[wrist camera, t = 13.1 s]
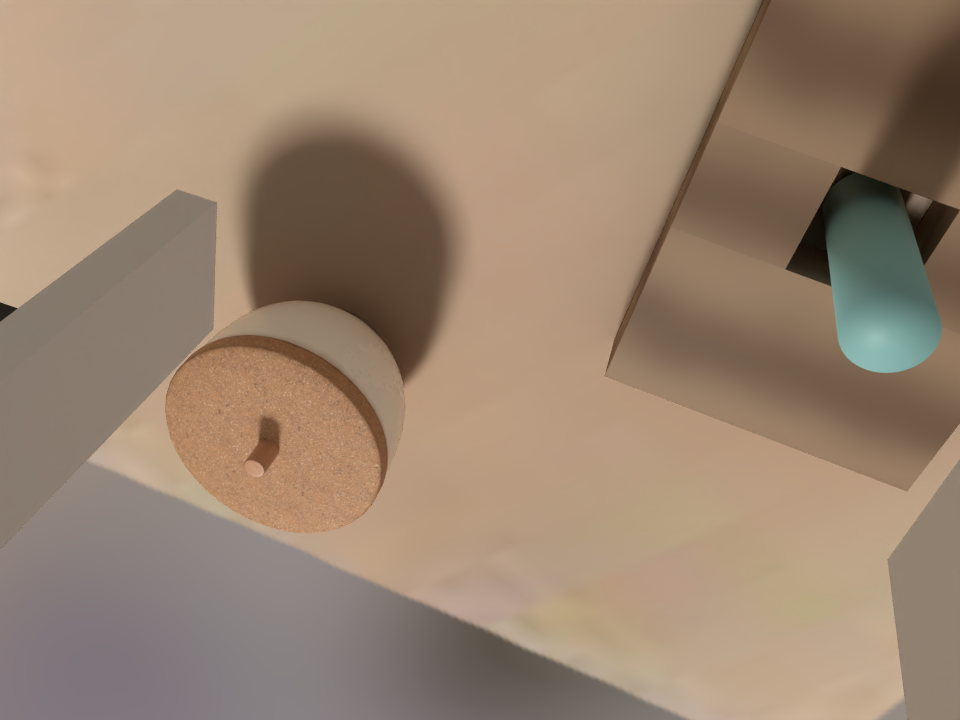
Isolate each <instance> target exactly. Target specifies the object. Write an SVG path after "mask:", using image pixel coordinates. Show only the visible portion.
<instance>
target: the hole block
mask: <svg viewBox="0 0 960 720" xmlns="http://www.w3.org/2000/svg"><path fill="white" fill-rule="evenodd" d="M841 167H843V168H845V169H848V170H851V171H854V172H857V173H859V174H862V175H865V176H868V177H870V178H873V179H876V180H879V181H882V182H884V183H887V184H890V185H893V186H895V187H898V188H901V189H904V190H907V191H909V192H912V193H915V194H918V195H920V196H923V197H926V198H929V199H932V200H934V201H933V203H932V204H931V206H930V208H929V209H928V211H927V212H926V214H925V216H924V217H923V219H922V220H921V222H920V224H919V225H918V227H917V228H916V230H915V232H914V235H915V239H916V242H917V245H918V248H919V252H920V255H921V258H922V261H923V265H924V268H925V271H926V274H927V277H928V281H929V284H930V287H931V290H932V294H933V297H934V300H935V303H936V307H937V310H938V313H939V316H940V320H941V324H942V333H941V338H940V341H939V343H938V345H937V347H936V349H935V350H934V351H933V353H932V354H931V355H930V356H929V357H928V358H927V359H925V360H924V361H923V362H921V363H920V364H918V365H916V366H914V367H912V368H910V369H907V370H903V371H899V372H893V373H879V372H873V371H869V370H866V369H863V368H861V367H859V366H857V365H855V364H854V363H853V362H851V361H850V360H849V359H848V358H847V357H846V356H845V354H844V353H843V351H842V350H841V348H840V345H839V341H838V335H837V327H836V318H835V310H834V302H833V294H832V285H831V277H830V269H829V261H828V253H826V252H823V251H820V250H817V249H815V248H812V247H809V246H806V245H804V244H801V243H800V241H801V239H802V238H803V236H804V234H805V232H806V230H807V228H808V227H809V225H810V223H811V221H812V219H813V217H814V216H815V214H816V212H817V210H818V208H819V206H820V205H821V203H822V201H823V199H824V197H825V195H826V194H827V192H828V190H829V188H830V186H831V184H832V183H833V181H834V179H835V177H836V175H837V173H838V172H839V170H840V168H841ZM605 377H608V378H611V379H613V380H616V381H619V382H621V383H624V384H626V385H629V386H632V387H634V388H637V389H640V390H642V391H645V392H647V393H650V394H653V395H655V396H658V397H661V398H663V399H666V400H668V401H671V402H674V403H676V404H679V405H682V406H684V407H687V408H689V409H692V410H695V411H697V412H700V413H703V414H705V415H708V416H710V417H713V418H716V419H718V420H721V421H724V422H726V423H729V424H731V425H734V426H737V427H739V428H742V429H745V430H747V431H750V432H752V433H755V434H758V435H760V436H763V437H766V438H768V439H771V440H773V441H776V442H779V443H781V444H784V445H787V446H789V447H792V448H794V449H797V450H800V451H802V452H805V453H808V454H810V455H813V456H815V457H818V458H821V459H823V460H826V461H829V462H831V463H834V464H836V465H839V466H842V467H844V468H847V469H850V470H852V471H855V472H857V473H860V474H863V475H865V476H868V477H871V478H873V479H876V480H878V481H881V482H884V483H886V484H889V485H892V486H894V487H897V488H899V489H902V490H905V491H908V490H909V488H910V487H911V486H912V484H913V483H914V482H915V481H916V479H917V478H918V477H919V475H920V474H921V473H922V471H923V470H924V469H925V468H926V466H927V465H928V464H929V462H930V461H931V460H932V458H933V457H934V456H935V455H936V453H937V452H938V451H939V449H940V448H941V447H942V446H943V444H944V443H945V442H946V440H947V439H948V438H949V436H950V435H951V434H952V433H953V431H954V430H955V429H956V427H957V426H958V425H959V424H960V0H763V2H762V5H761V7H760V9H759V12H758V14H757V16H756V18H755V21H754V23H753V25H752V28H751V30H750V32H749V34H748V37H747V39H746V41H745V44H744V46H743V48H742V50H741V53H740V55H739V57H738V60H737V62H736V64H735V66H734V69H733V71H732V73H731V75H730V78H729V80H728V82H727V85H726V87H725V89H724V91H723V94H722V96H721V98H720V101H719V103H718V105H717V107H716V110H715V112H714V114H713V117H712V119H711V121H710V123H709V126H708V128H707V130H706V133H705V135H704V137H703V139H702V142H701V144H700V146H699V149H698V151H697V153H696V155H695V158H694V160H693V162H692V165H691V167H690V169H689V171H688V174H687V176H686V178H685V181H684V183H683V185H682V187H681V190H680V192H679V194H678V197H677V199H676V201H675V203H674V206H673V208H672V210H671V212H670V215H669V217H668V219H667V222H666V224H665V226H664V228H663V231H662V233H661V235H660V238H659V240H658V242H657V244H656V247H655V249H654V251H653V254H652V256H651V258H650V260H649V263H648V265H647V267H646V270H645V272H644V274H643V276H642V279H641V281H640V283H639V286H638V288H637V290H636V292H635V295H634V297H633V299H632V302H631V304H630V306H629V308H628V311H627V313H626V315H625V318H624V320H623V322H622V324H621V327H620V329H619V331H618V334H617V336H616V338H615V340H614V343H613V347H612V351H611V354H610V358H609V362H608V366H607V369H606V373H605Z"/></svg>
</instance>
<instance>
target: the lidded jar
mask: <svg viewBox="0 0 960 720" xmlns="http://www.w3.org/2000/svg"><path fill="white" fill-rule="evenodd" d="M165 411H166V419H167V426H168V430H169V434H170V437H171V440H172V442H173V444H174V447H175V449H176V451H177V453H178V455H179V456H180V458H181V460H182V461H183V463H184V465H185V466H186V468H187V469H188V470H189V471H190V473H191V474H192V475H193V476H194V478H195V479H196V480H197V481H198V482H199V483H200V484H201V485H202V486H203V487H204V488H205V489H206V490H207V491H208V492H209V493H210V494H211V495H213V496H214V497H215V498H216V499H218V500H219V501H220V502H222V503H223V504H224V505H226V506H227V507H229V508H230V509H232V510H233V511H235V512H237V513H239V514H241V515H242V516H244V517H246V518H248V519H250V520H253V521H255V522H258V523H260V524H262V525H265V526H269V527H272V528H276V529H279V530H285V531H290V532H298V533H315V532H325V531H329V530H333V529H337V528H340V527H343V526H345V525H347V524H349V523H351V522H353V521H355V520H356V519H357V518H359V517H360V516H361V515H363V514H364V513H365V512H366V511H367V509H368V508H369V507H370V506H371V505H372V503H373V502H374V500H375V498H376V496H377V494H378V493H379V491H380V489H381V487H382V485H383V482H384V479H385V475H386V472H387V470H388V468H389V467H390V464H391V462H392V460H393V458H394V456H395V453H396V450H397V447H398V444H399V440H400V437H401V434H402V430H403V424H404V417H405V395H404V385H403V381H402V378H401V374H400V371H399V369H398V366H397V364H396V362H395V359H394V357H393V355H392V354H391V352H390V350H389V349H388V347H387V346H386V344H385V343H384V342H383V341H382V339H381V338H380V337H379V336H378V335H377V334H376V333H375V332H374V330H373V329H372V328H371V327H370V326H368V325H367V324H366V323H365V322H364V321H362V320H361V319H359V318H358V317H356V316H354V315H353V314H351V313H348V312H346V311H344V310H342V309H339V308H337V307H334V306H332V305H328V304H324V303H320V302H312V301H300V300H298V301H284V302H280V303H275V304H271V305H266V306H263V307H261V308H258V309H256V310H253V311H251V312H249V313H247V314H245V315H243V316H241V317H240V318H238V319H237V320H235V321H234V322H232V323H231V324H230V325H228V326H227V327H225V328H224V329H222V330H221V331H220V332H218V333H217V334H216V335H215V336H214V337H213V338H212V339H211V340H210V341H209V342H208V343H207V344H206V345H205V346H203V347H202V348H200V349H199V350H197V351H196V352H195V353H193V354H192V355H191V356H190V357H189V358H188V359H187V360H186V361H185V362H184V364H183V365H182V366H181V367H180V368H179V369H178V370H177V371H176V373H175V375H174V377H173V378H172V380H171V382H170V385H169V388H168V391H167V395H166V407H165Z"/></svg>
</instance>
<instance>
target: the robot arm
mask: <svg viewBox="0 0 960 720" xmlns="http://www.w3.org/2000/svg"><path fill="white" fill-rule="evenodd" d="M216 219H217V202H214V201H211V200H208V199H205V198H202V197H198V196H195V195H192V194H189V193H186V192H183V191H180V190H176V191H174V192H173V193H172V194H170V195H169V196H168V197H166V198H165V199H164V200H162V201H161V202H159V203H158V204H157V205H155V206H154V207H153V208H151V209H150V210H149V211H147V212H146V213H145V214H143V215H142V216H141V217H139V218H138V219H137V220H135V221H134V222H133V223H131V224H130V225H129V226H127V227H126V228H125V229H123V230H122V231H121V232H119V233H118V234H117V235H115V236H114V237H113V238H111V239H110V240H109V241H107V242H106V243H105V244H103V245H102V246H101V247H99V248H98V249H97V250H95V251H94V252H93V253H91V254H90V255H89V256H87V257H86V258H85V259H83V260H82V261H81V262H79V263H78V264H77V265H75V266H74V267H73V268H71V269H70V270H69V271H67V272H66V273H65V274H63V275H62V276H61V277H59V278H58V279H57V280H55V281H54V282H53V283H51V284H50V285H49V286H47V287H46V288H45V289H43V290H42V291H41V292H39V293H38V294H37V295H35V296H34V297H33V298H31V299H30V300H29V301H27V302H26V303H25V304H23V305H22V306H21V307H19V308H15V307H12V306H9V305H6V304H3V303H0V550H1V549H2V548H3V547H4V546H5V545H6V544H7V542H8V541H9V540H11V538H12V537H13V536H14V535H15V534H16V533H17V532H18V531H19V530H20V529H21V528H22V527H23V526H24V525H25V524H26V523H27V522H28V521H29V520H30V519H31V518H32V517H33V516H34V515H35V514H36V512H37V511H38V510H39V509H40V508H41V507H42V506H43V505H44V504H45V503H46V502H47V501H48V500H49V499H50V498H51V497H52V496H53V495H54V493H56V492H57V490H59V488H61V486H62V485H63V484H64V483H65V482H66V481H67V480H68V479H69V478H70V477H71V476H72V475H73V474H74V473H75V472H76V471H77V470H78V469H79V468H80V467H81V466H82V465H83V464H84V463H85V462H86V461H87V459H88V458H89V457H90V456H91V455H92V454H93V453H94V452H95V451H96V450H97V449H98V448H99V447H100V446H101V445H102V444H103V443H104V442H105V441H106V440H107V439H108V438H109V437H110V436H111V435H112V433H113V432H114V431H115V430H116V429H117V428H118V427H119V426H120V425H121V424H122V423H123V422H124V421H125V420H126V419H127V418H128V417H129V416H130V415H131V414H132V413H133V412H134V411H135V410H136V409H137V407H138V406H139V405H140V404H141V403H142V402H143V401H144V400H145V399H146V398H147V397H148V396H149V395H150V394H151V393H152V392H153V391H154V390H155V389H156V388H157V387H158V386H159V385H160V384H161V383H162V382H163V380H164V379H165V378H166V377H167V376H168V375H169V374H170V373H171V372H172V371H173V370H174V369H175V368H176V367H177V366H178V365H179V364H180V363H181V362H182V361H183V360H184V359H185V358H186V357H187V356H188V354H189V353H190V352H191V351H192V350H193V349H194V348H195V347H196V346H197V345H198V344H199V343H200V342H201V341H202V340H203V339H204V338H205V337H206V336H207V335H208V334H209V333H210V332H211V331H212V330H213V321H214V287H215V253H216ZM888 566H889V574H890V583H891V591H892V599H893V607H894V615H895V623H896V632H897V640H898V648H899V656H900V664H901V672H902V681H903V689H904V697H905V705H906V712H907V720H960V460H959V461H958V463H957V464H956V465H955V467H954V468H953V470H952V471H951V472H950V474H949V475H948V476H947V478H946V479H945V481H944V482H943V483H942V485H941V486H940V488H939V489H938V490H937V492H936V493H935V495H934V496H933V497H932V499H931V500H930V502H929V503H928V504H927V506H926V507H925V508H924V510H923V511H922V513H921V514H920V515H919V517H918V518H917V520H916V521H915V522H914V524H913V525H912V527H911V528H910V529H909V531H908V532H907V534H906V535H905V536H904V538H903V539H902V540H901V542H900V543H899V545H898V546H897V547H896V549H895V550H894V552H893V553H892V554H891V556H890V557H889V559H888Z"/></svg>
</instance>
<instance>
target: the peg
mask: <svg viewBox="0 0 960 720" xmlns="http://www.w3.org/2000/svg"><path fill="white" fill-rule="evenodd" d="M823 219H824V228H825V236H826V244H827V252H828V261H829V269H830V277H831V285H832V294H833V302H834V310H835V318H836V327H837V335H838V341H839V345H840V348H841V350H842V351H843V353H844V354H845V356H846V357H847V358H848V359H849V360H850V361H851V362H853V363H854V364H855V365H857V366H859V367H861V368H863V369H866V370H869V371H873V372H879V373H893V372H899V371H903V370H907V369H910V368H912V367H914V366H916V365H918V364H920V363H921V362H923V361H924V360H925V359H927V358H928V357H929V356H930V355H931V354H932V353H933V351H934V350H935V349H936V347H937V345H938V343H939V341H940V338H941V333H942V324H941V320H940V316H939V313H938V310H937V307H936V303H935V300H934V297H933V294H932V290H931V287H930V284H929V281H928V277H927V274H926V271H925V268H924V265H923V261H922V258H921V255H920V252H919V248H918V245H917V242H916V239H915V235H914V232H913V229H912V226H911V222H910V219H909V216H908V213H907V210H906V206H905V203H904V200H903V197H902V193H901V191H900V189H899V188H898V187H895V186H893V185H890V184H887V183H884V182H882V181H879V180H876V179H873V178H870V177H868V176H865V175H862V174H859V173H854V174H851V175H848V176H846V177H844V178H842V179H841V180H839V181H838V182H837V183H835V184H834V185H833V186H832V187H831V189H830V190H829V191H828V193H827V195H826V197H825V199H824V203H823Z"/></svg>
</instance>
